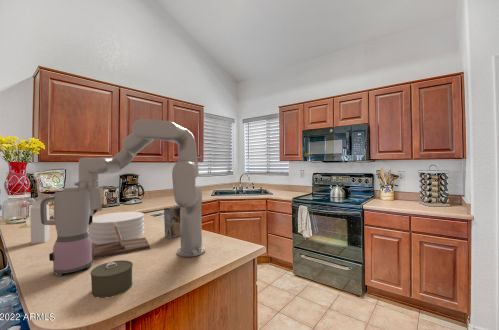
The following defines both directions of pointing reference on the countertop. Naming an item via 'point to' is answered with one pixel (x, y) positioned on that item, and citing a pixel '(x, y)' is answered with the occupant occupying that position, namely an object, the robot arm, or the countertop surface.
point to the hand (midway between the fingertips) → (88, 224)
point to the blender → (70, 230)
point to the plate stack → (105, 230)
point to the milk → (38, 224)
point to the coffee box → (172, 222)
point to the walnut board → (120, 247)
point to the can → (111, 278)
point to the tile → (118, 234)
